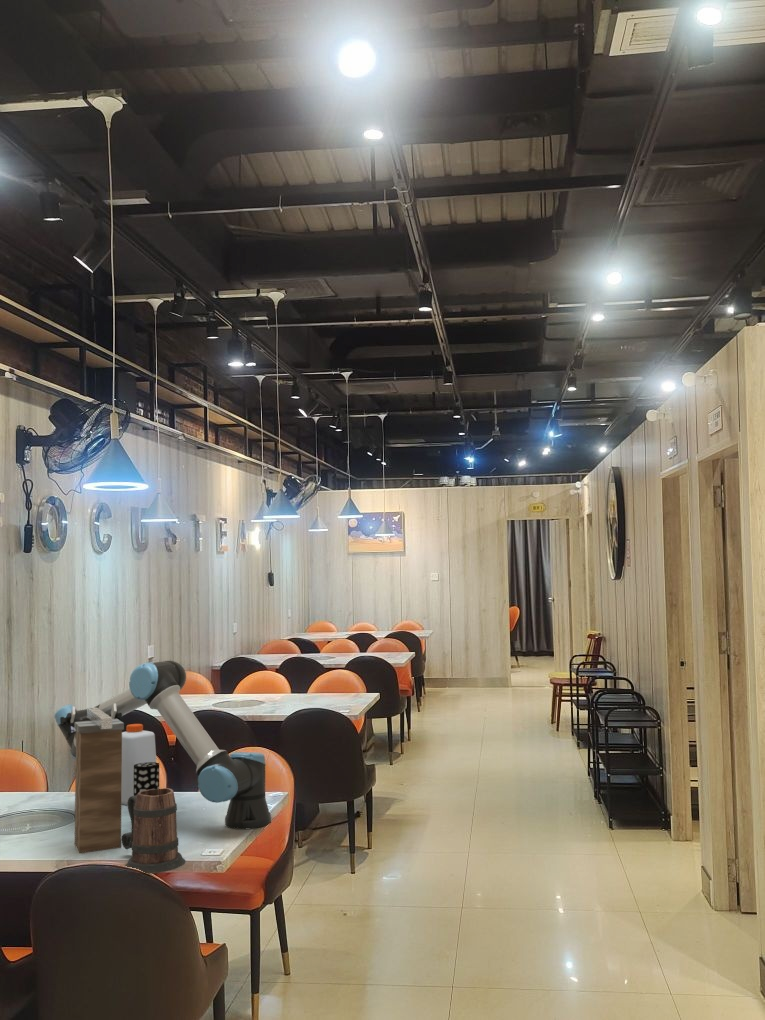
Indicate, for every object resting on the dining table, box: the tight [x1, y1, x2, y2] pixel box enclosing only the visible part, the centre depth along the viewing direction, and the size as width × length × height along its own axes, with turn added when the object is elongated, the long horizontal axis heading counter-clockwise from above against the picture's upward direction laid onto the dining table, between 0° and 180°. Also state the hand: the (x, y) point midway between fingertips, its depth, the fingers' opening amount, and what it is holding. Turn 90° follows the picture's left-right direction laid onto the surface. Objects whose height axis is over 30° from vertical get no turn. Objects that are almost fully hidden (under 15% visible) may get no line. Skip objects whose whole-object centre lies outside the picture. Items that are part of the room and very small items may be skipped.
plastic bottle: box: [121, 723, 157, 806], centre depth 323 cm, size 15×15×28 cm
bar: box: [86, 706, 112, 729], centre depth 266 cm, size 32×3×3 cm, turn 26°
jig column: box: [74, 719, 125, 854], centre depth 264 cm, size 13×13×37 cm
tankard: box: [121, 787, 186, 875], centre depth 244 cm, size 24×17×20 cm
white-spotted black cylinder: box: [134, 761, 160, 796], centre depth 284 cm, size 8×8×20 cm
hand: (94, 708), depth 274 cm, fingers open, 12 cm apart
